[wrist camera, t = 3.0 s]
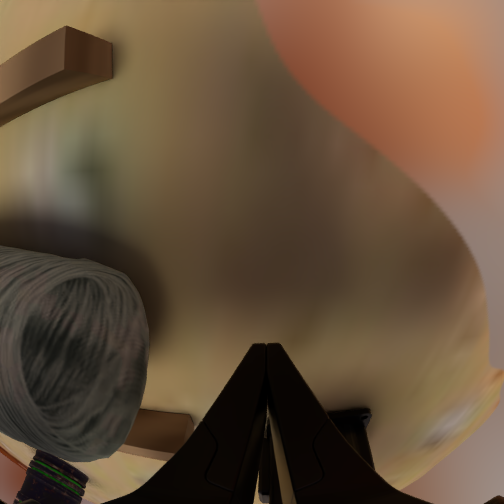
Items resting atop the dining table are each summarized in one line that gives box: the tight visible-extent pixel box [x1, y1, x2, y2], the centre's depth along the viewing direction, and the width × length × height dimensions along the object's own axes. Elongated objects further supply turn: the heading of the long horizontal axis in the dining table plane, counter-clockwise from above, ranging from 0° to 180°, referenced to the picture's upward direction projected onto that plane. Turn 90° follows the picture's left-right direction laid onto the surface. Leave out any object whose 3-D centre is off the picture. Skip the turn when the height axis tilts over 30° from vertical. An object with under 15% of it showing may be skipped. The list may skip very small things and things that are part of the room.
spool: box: [0, 245, 150, 462], centre depth 9 cm, size 14×10×10 cm
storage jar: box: [13, 449, 88, 504], centre depth 21 cm, size 10×10×15 cm
